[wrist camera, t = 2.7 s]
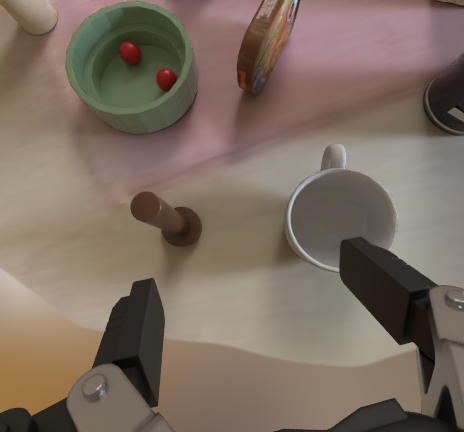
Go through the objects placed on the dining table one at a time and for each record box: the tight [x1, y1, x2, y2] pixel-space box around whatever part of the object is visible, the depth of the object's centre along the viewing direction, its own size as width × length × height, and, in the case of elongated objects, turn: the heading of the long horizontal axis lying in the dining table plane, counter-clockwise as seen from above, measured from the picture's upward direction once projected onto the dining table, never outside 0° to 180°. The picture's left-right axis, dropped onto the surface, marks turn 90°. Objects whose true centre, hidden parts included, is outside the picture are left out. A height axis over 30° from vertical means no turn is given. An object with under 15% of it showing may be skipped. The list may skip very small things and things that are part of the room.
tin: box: [237, 0, 300, 95], centre depth 34 cm, size 15×3×8 cm, turn 154°
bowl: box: [65, 1, 198, 134], centre depth 35 cm, size 16×16×6 cm
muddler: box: [131, 192, 202, 247], centre depth 27 cm, size 5×5×14 cm
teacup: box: [284, 144, 398, 273], centre depth 30 cm, size 14×11×8 cm
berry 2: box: [156, 68, 177, 92], centre depth 36 cm, size 3×3×3 cm
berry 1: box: [120, 41, 141, 65], centre depth 36 cm, size 3×3×3 cm
